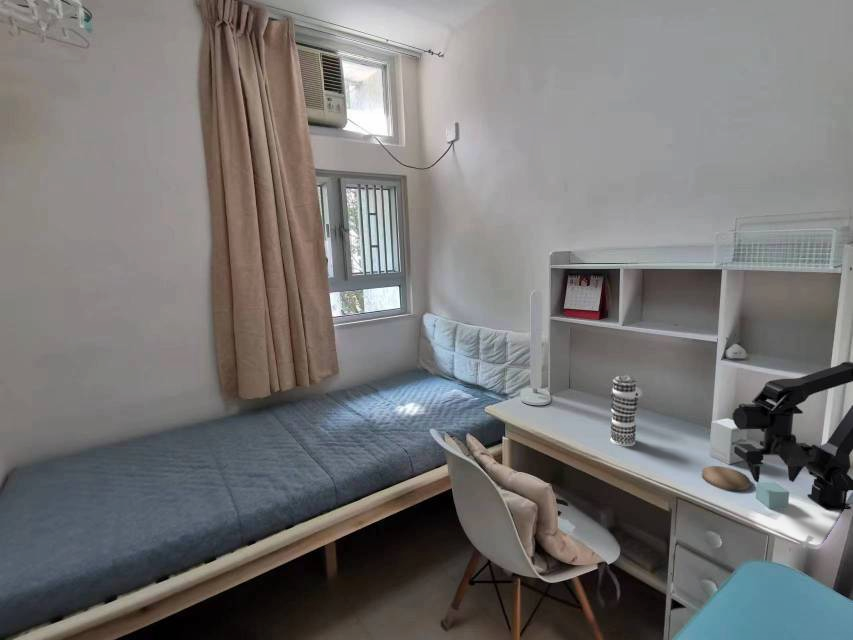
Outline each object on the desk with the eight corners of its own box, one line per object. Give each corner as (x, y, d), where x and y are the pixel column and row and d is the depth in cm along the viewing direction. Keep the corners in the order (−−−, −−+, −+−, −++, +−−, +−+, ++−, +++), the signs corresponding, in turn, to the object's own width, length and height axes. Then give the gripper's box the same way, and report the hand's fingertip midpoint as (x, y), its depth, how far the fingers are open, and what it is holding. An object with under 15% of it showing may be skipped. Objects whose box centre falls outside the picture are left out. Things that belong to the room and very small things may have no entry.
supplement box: (729, 465, 139) (731, 428, 137) (708, 455, 146) (710, 420, 144) (746, 461, 141) (748, 425, 139) (724, 451, 148) (727, 417, 146)
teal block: (774, 498, 120) (775, 482, 119) (787, 508, 115) (789, 491, 114) (755, 498, 120) (756, 482, 120) (768, 508, 115) (769, 492, 115)
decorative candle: (617, 433, 165) (619, 372, 161) (641, 441, 158) (643, 377, 154) (604, 440, 160) (605, 377, 156) (628, 449, 153) (630, 382, 149)
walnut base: (733, 470, 135) (733, 465, 135) (759, 491, 124) (760, 486, 123) (694, 470, 136) (694, 466, 136) (716, 491, 124) (717, 486, 124)
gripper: (763, 441, 107) (758, 498, 109) (841, 440, 106) (835, 497, 108) (734, 424, 118) (731, 475, 120) (805, 422, 117) (800, 475, 119)
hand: (773, 481), depth 117 cm, fingers open, 9 cm apart
